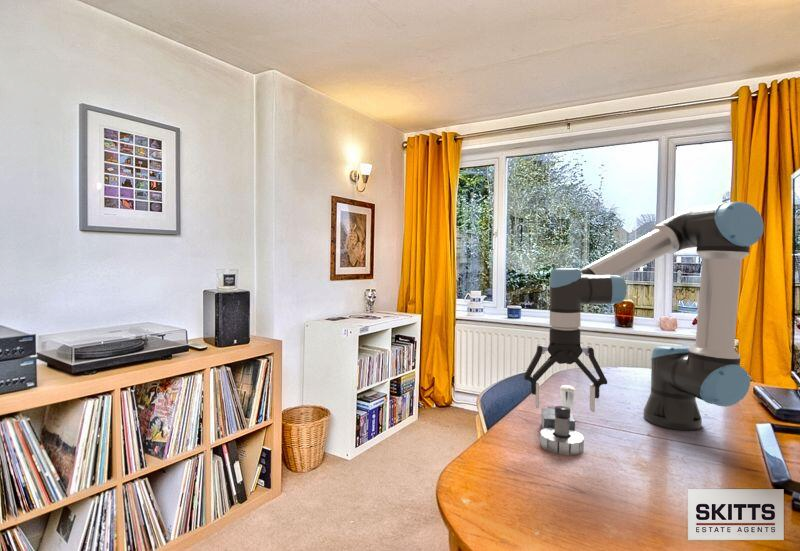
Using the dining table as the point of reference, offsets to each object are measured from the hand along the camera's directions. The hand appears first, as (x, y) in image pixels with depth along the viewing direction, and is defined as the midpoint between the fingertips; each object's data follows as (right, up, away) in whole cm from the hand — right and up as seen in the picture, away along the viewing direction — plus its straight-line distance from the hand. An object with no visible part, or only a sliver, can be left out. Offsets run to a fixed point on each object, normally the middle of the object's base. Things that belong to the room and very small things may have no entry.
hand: (564, 408), depth 115 cm
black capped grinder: (-1, -10, 0) cm, 10 cm away
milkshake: (+10, -9, +24) cm, 28 cm away
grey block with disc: (+1, -10, +6) cm, 11 cm away
